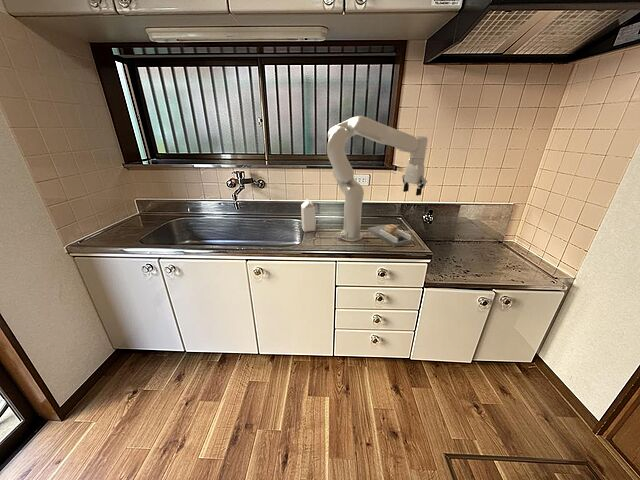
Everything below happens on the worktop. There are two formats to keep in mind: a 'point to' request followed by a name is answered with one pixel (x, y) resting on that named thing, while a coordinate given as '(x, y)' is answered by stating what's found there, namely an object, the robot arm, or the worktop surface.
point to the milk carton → (308, 216)
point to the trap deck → (391, 236)
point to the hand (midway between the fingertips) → (411, 193)
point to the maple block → (391, 229)
